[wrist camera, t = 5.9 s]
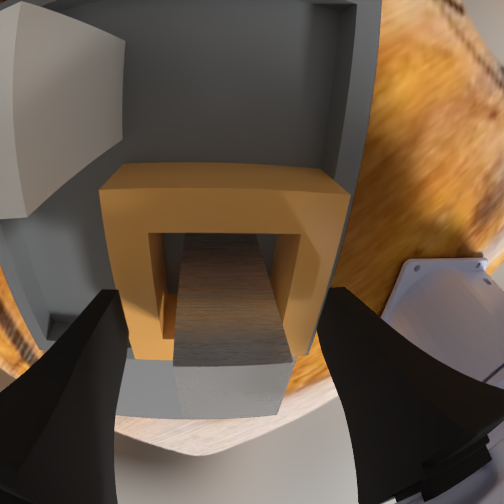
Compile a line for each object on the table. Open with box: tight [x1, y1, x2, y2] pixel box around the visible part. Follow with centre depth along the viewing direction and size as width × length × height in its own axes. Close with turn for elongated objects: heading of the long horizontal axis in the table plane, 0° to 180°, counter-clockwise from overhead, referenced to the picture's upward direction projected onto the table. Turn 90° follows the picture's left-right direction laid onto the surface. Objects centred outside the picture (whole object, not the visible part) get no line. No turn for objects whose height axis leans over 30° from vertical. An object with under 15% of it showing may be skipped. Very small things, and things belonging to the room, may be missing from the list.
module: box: [0, 1, 125, 219], centre depth 6 cm, size 4×4×7 cm
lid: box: [116, 356, 297, 419], centre depth 19 cm, size 16×11×1 cm, turn 85°
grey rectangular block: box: [173, 233, 294, 419], centre depth 11 cm, size 3×3×7 cm
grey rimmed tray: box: [0, 0, 382, 361], centre depth 10 cm, size 16×18×4 cm
